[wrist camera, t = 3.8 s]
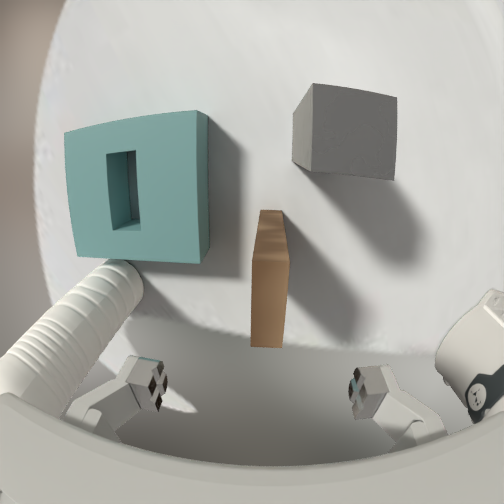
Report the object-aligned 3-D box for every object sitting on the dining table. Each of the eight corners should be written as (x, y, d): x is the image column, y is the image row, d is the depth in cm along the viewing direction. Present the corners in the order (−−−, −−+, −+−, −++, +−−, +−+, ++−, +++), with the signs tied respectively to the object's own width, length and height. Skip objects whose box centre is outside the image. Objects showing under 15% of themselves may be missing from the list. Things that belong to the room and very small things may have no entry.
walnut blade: (281, 210, 25) (289, 262, 14) (278, 268, 28) (281, 347, 17) (260, 209, 26) (252, 260, 14) (258, 267, 28) (250, 346, 17)
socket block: (207, 115, 22) (196, 110, 19) (209, 247, 27) (200, 263, 24) (87, 132, 23) (64, 132, 20) (96, 243, 28) (77, 256, 24)
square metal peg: (341, 118, 22) (397, 97, 11) (339, 164, 23) (393, 180, 12) (293, 113, 22) (312, 83, 11) (291, 160, 24) (310, 171, 12)
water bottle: (91, 264, 29) (-48, 403, 6) (129, 250, 28) (-33, 421, 5) (123, 322, 32) (26, 476, 9) (162, 314, 31) (65, 502, 8)
